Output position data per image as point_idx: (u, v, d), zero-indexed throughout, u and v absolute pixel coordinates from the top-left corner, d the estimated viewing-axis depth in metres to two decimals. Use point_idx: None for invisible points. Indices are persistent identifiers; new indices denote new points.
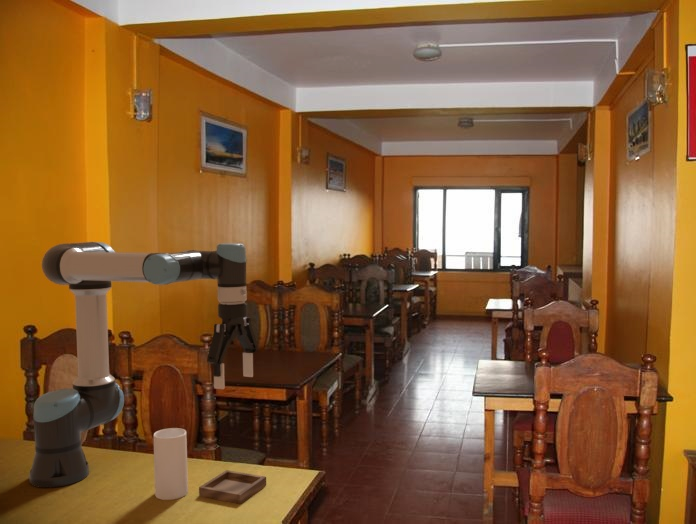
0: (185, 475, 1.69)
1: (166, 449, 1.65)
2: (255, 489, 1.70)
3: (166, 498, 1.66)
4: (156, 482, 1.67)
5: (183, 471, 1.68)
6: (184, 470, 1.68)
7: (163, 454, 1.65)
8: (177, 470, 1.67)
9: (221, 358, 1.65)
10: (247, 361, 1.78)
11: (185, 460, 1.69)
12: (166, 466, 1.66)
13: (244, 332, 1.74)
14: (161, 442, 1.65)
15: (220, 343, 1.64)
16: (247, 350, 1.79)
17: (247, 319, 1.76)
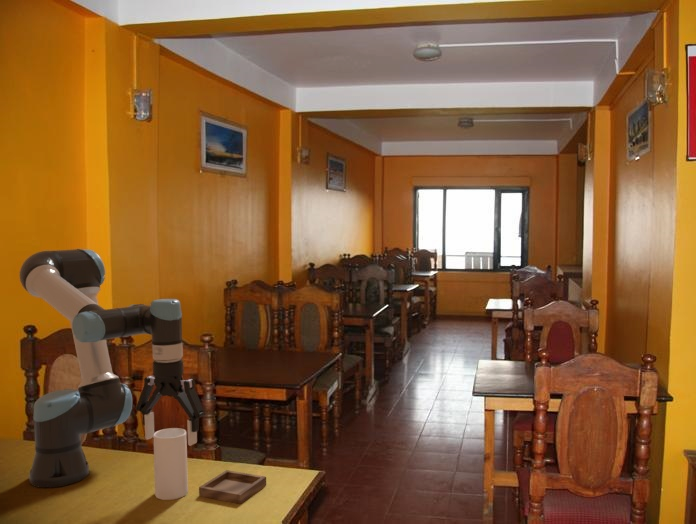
0: (185, 475, 1.69)
1: (166, 449, 1.65)
2: (255, 489, 1.70)
3: (166, 498, 1.66)
4: (156, 482, 1.67)
5: (183, 471, 1.68)
6: (184, 470, 1.68)
7: (163, 454, 1.65)
8: (177, 470, 1.67)
9: (144, 409, 1.70)
10: None
11: (185, 460, 1.69)
12: (166, 466, 1.66)
13: (173, 394, 1.66)
14: (161, 442, 1.65)
15: (142, 394, 1.70)
16: None
17: None
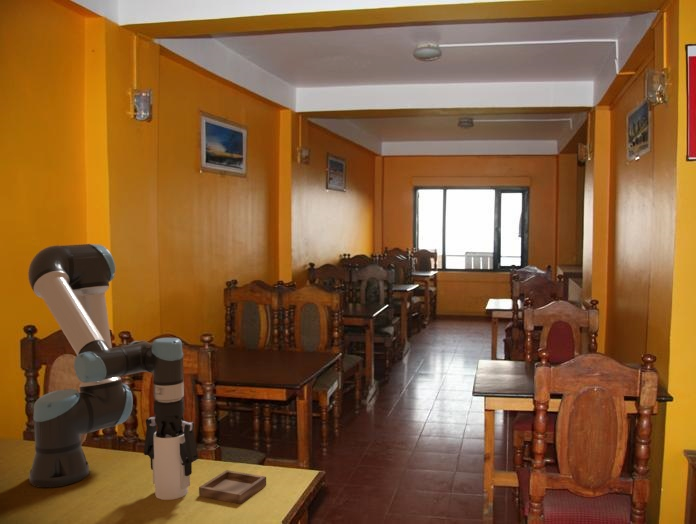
0: None
1: (166, 449, 1.65)
2: (255, 489, 1.70)
3: (166, 498, 1.66)
4: (156, 482, 1.67)
5: None
6: None
7: (163, 454, 1.65)
8: (177, 470, 1.67)
9: (151, 453, 1.71)
10: None
11: None
12: (166, 466, 1.66)
13: (172, 434, 1.67)
14: (161, 442, 1.65)
15: (147, 437, 1.71)
16: None
17: None
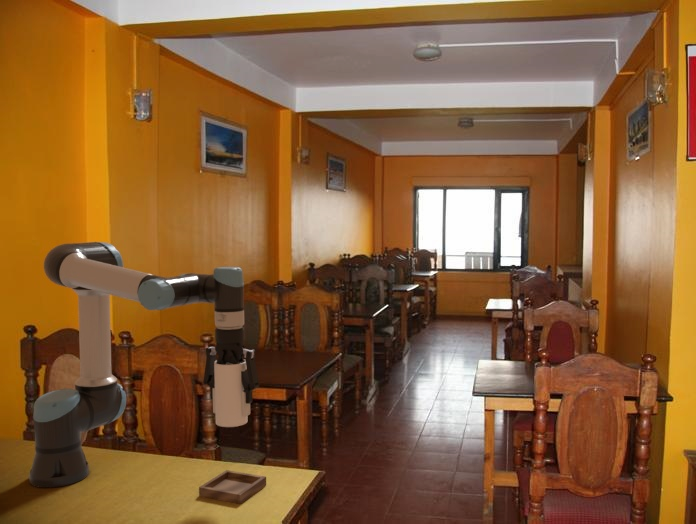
0: None
1: (228, 376, 1.65)
2: (255, 489, 1.70)
3: (227, 425, 1.66)
4: (217, 410, 1.67)
5: None
6: None
7: (225, 381, 1.65)
8: (238, 398, 1.67)
9: (211, 382, 1.71)
10: None
11: None
12: (228, 393, 1.66)
13: (233, 362, 1.67)
14: (223, 369, 1.65)
15: (207, 366, 1.71)
16: None
17: None
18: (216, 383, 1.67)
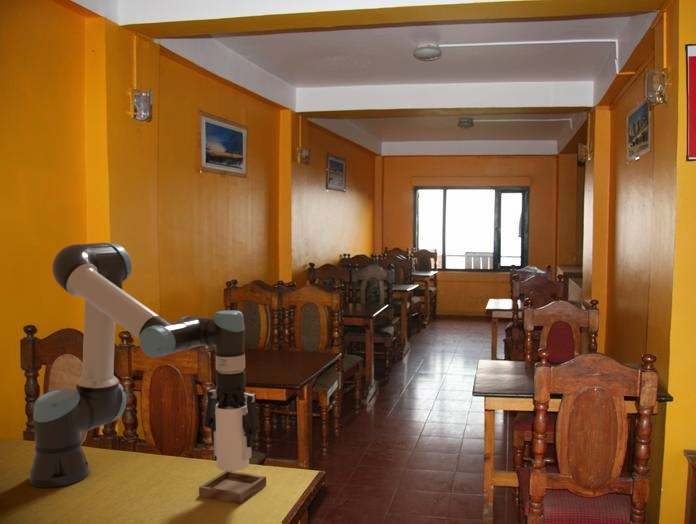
0: None
1: (229, 420, 1.66)
2: (255, 489, 1.70)
3: (228, 469, 1.67)
4: (218, 453, 1.68)
5: None
6: None
7: (226, 425, 1.66)
8: (239, 442, 1.67)
9: (212, 425, 1.71)
10: None
11: None
12: (229, 437, 1.66)
13: (234, 406, 1.68)
14: (224, 413, 1.66)
15: (208, 409, 1.72)
16: None
17: None
18: (217, 427, 1.68)
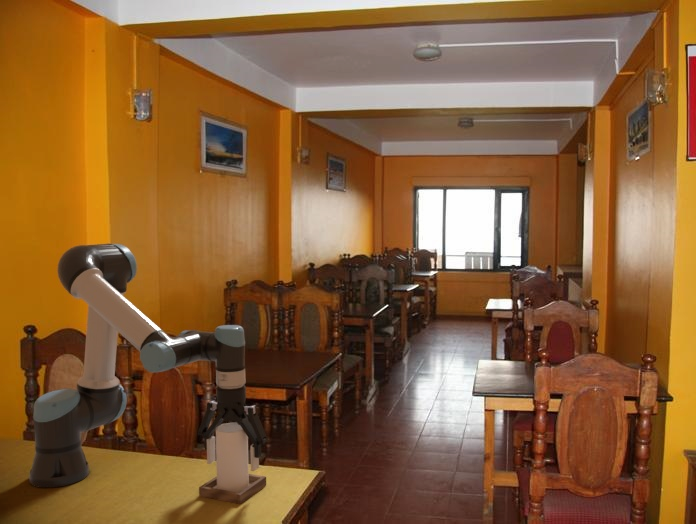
0: (247, 469, 1.70)
1: (229, 443, 1.67)
2: (255, 489, 1.70)
3: None
4: (219, 476, 1.68)
5: (245, 465, 1.69)
6: (246, 464, 1.70)
7: (226, 448, 1.67)
8: (240, 464, 1.68)
9: (206, 433, 1.72)
10: None
11: (247, 454, 1.70)
12: (229, 460, 1.67)
13: (237, 419, 1.68)
14: (224, 436, 1.67)
15: (204, 419, 1.72)
16: None
17: None
18: (217, 450, 1.68)
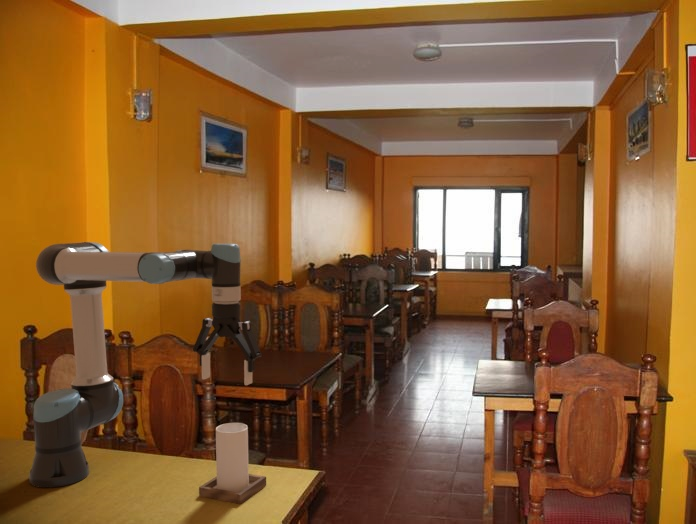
0: (247, 469, 1.70)
1: (229, 443, 1.66)
2: (255, 489, 1.70)
3: None
4: (219, 476, 1.68)
5: (245, 465, 1.69)
6: (246, 464, 1.70)
7: (226, 448, 1.67)
8: (240, 465, 1.68)
9: (201, 350, 1.76)
10: None
11: (247, 454, 1.70)
12: (229, 460, 1.67)
13: (231, 334, 1.71)
14: (224, 436, 1.67)
15: (200, 335, 1.76)
16: None
17: None
18: (218, 450, 1.68)
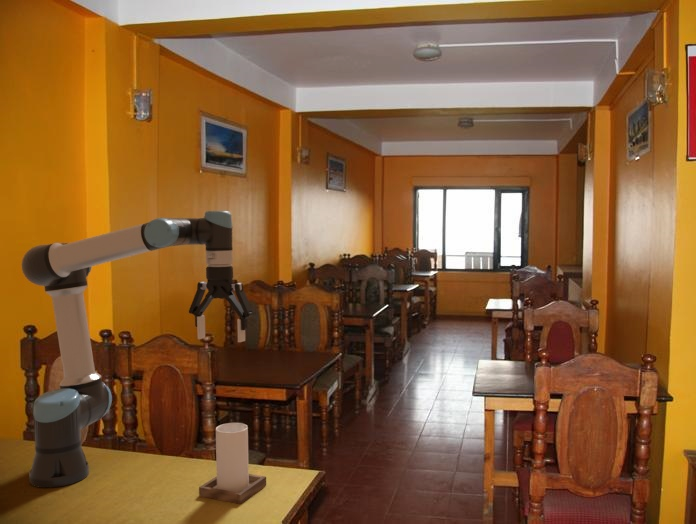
0: (247, 469, 1.70)
1: (229, 443, 1.67)
2: (255, 489, 1.70)
3: None
4: (219, 476, 1.68)
5: (245, 465, 1.69)
6: (246, 464, 1.70)
7: (226, 448, 1.67)
8: (240, 465, 1.68)
9: (196, 311, 1.88)
10: None
11: (247, 454, 1.70)
12: (229, 460, 1.67)
13: (224, 295, 1.83)
14: (224, 436, 1.67)
15: (195, 298, 1.87)
16: None
17: None
18: (218, 450, 1.68)
